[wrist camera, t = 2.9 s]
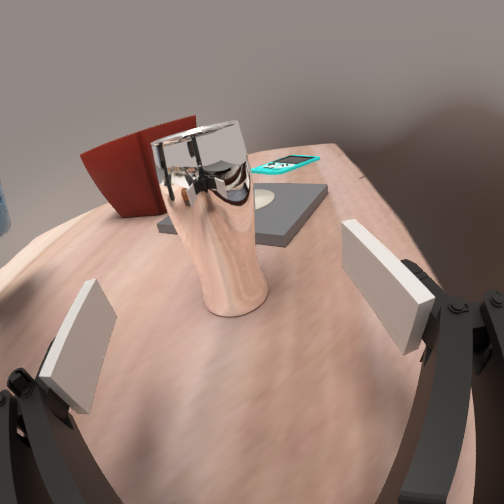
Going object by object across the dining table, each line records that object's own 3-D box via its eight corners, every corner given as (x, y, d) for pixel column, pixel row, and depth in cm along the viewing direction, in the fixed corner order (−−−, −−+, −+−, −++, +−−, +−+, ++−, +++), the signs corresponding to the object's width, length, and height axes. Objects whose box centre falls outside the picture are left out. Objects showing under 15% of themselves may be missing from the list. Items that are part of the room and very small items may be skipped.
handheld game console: (249, 174, 65) (248, 169, 64) (292, 158, 73) (291, 153, 72) (278, 177, 58) (277, 171, 57) (321, 160, 66) (320, 155, 65)
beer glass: (186, 300, 26) (134, 147, 18) (238, 265, 30) (205, 125, 22) (232, 333, 21) (174, 138, 14) (288, 287, 25) (261, 116, 17)
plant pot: (166, 222, 46) (138, 129, 37) (102, 226, 53) (77, 154, 44) (214, 184, 61) (197, 113, 52) (152, 192, 68) (135, 133, 59)
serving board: (159, 232, 42) (155, 222, 42) (222, 190, 55) (220, 182, 54) (285, 247, 31) (283, 233, 30) (328, 192, 44) (327, 182, 43)
